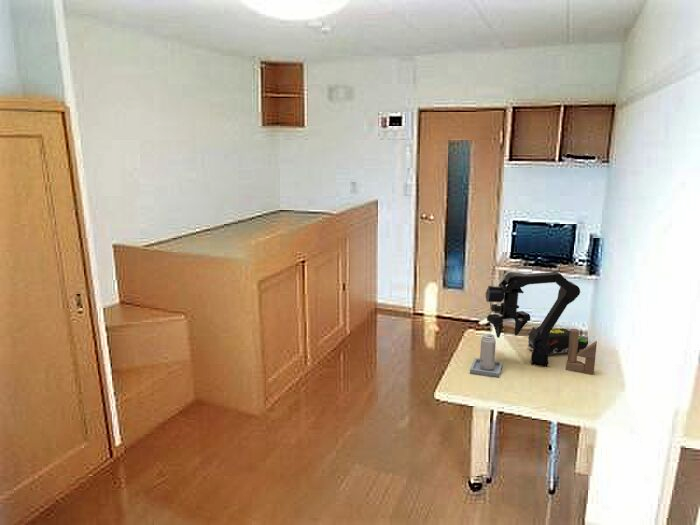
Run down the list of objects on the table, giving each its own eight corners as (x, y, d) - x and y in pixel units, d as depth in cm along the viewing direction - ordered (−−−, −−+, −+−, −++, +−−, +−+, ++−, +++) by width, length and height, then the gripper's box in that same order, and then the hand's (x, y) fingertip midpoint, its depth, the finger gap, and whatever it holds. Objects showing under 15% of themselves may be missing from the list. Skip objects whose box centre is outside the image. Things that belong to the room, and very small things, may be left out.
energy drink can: (480, 364, 226) (482, 332, 222) (495, 366, 223) (496, 334, 220) (478, 370, 220) (480, 337, 217) (493, 372, 218) (495, 339, 214)
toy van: (588, 353, 236) (590, 333, 234) (537, 358, 233) (539, 337, 230) (574, 344, 247) (576, 325, 244) (526, 349, 243) (527, 329, 241)
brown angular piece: (593, 375, 215) (597, 334, 211) (565, 369, 221) (569, 330, 216) (594, 371, 218) (598, 331, 214) (566, 366, 224) (570, 327, 219)
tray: (502, 366, 225) (502, 362, 225) (498, 378, 214) (499, 373, 214) (474, 362, 230) (474, 358, 229) (469, 373, 219) (470, 369, 218)
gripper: (516, 295, 231) (512, 327, 235) (481, 298, 225) (478, 332, 228) (533, 302, 221) (529, 336, 224) (496, 306, 214) (493, 341, 218)
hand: (506, 336), depth 224 cm, fingers open, 9 cm apart
